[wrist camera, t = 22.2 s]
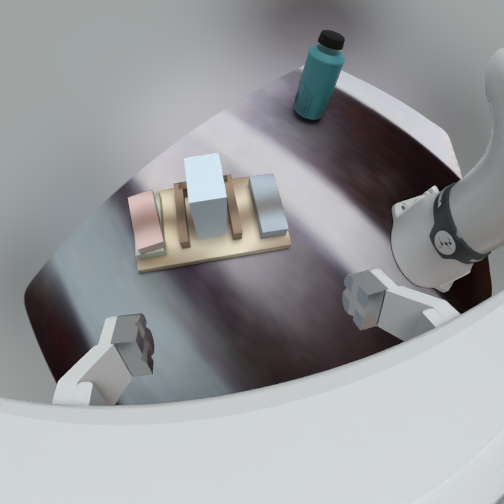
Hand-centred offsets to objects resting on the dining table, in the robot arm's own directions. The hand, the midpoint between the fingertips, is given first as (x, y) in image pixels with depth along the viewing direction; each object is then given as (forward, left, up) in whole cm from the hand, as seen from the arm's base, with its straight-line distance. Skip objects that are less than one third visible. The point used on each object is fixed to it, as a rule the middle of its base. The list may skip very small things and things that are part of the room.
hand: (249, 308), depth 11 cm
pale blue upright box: (-5, -15, -26) cm, 30 cm away
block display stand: (-5, -15, -27) cm, 32 cm away
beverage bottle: (-33, -27, -28) cm, 51 cm away
